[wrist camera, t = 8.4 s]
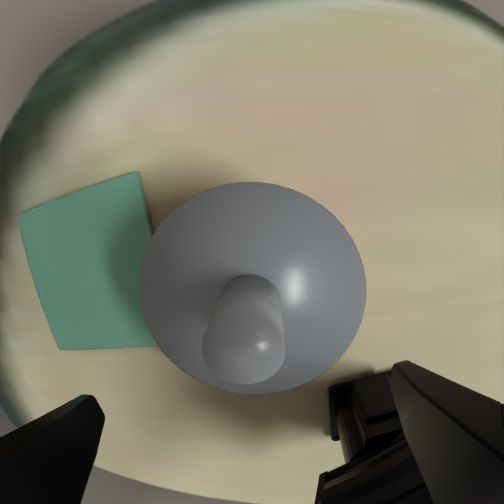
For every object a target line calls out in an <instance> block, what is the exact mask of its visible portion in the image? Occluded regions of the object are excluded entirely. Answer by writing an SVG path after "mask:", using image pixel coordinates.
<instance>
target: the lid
mask: <svg viewBox="0 0 504 504" xmlns="http://www.w3.org/2000/svg"><path fill="white" fill-rule="evenodd" d="M139 296H140V304H141V309H142V312H143V316H144V319H145V322H146V324H147V327H148V329H149V331H150V333H151V335H152V337H153V338H154V340H155V342H156V343H157V345H158V346H159V347H160V349H161V350H162V352H163V353H164V354H165V355H166V356H167V357H168V358H169V359H170V360H171V361H172V362H173V363H174V364H175V365H176V366H177V367H178V368H180V369H181V370H182V371H183V372H185V373H186V374H188V375H189V376H191V377H192V378H194V379H196V380H198V381H200V382H202V383H204V384H206V385H208V386H211V387H214V388H216V389H219V390H223V391H227V392H231V393H238V394H247V395H262V394H272V393H278V392H283V391H286V390H290V389H293V388H296V387H298V386H301V385H303V384H305V383H307V382H309V381H311V380H313V379H315V378H316V377H318V376H320V375H321V374H322V373H324V372H325V371H326V370H328V369H329V368H330V367H331V366H332V365H333V364H334V363H335V362H336V361H337V360H338V359H339V358H340V357H341V356H342V355H343V354H344V352H345V351H346V350H347V348H348V347H349V345H350V344H351V342H352V340H353V339H354V337H355V335H356V333H357V331H358V328H359V326H360V324H361V320H362V317H363V313H364V309H365V301H366V279H365V272H364V267H363V264H362V260H361V257H360V254H359V252H358V250H357V247H356V245H355V243H354V241H353V239H352V238H351V236H350V235H349V233H348V232H347V230H346V229H345V227H344V226H343V225H342V224H341V223H340V222H339V221H338V219H337V218H336V217H335V216H334V215H333V214H332V213H331V212H329V211H328V210H327V209H326V208H325V207H323V206H322V205H321V204H319V203H318V202H316V201H314V200H313V199H311V198H310V197H308V196H306V195H304V194H302V193H299V192H297V191H295V190H292V189H290V188H286V187H283V186H279V185H275V184H269V183H261V182H240V183H233V184H226V185H222V186H218V187H215V188H211V189H208V190H206V191H204V192H202V193H199V194H197V195H195V196H193V197H192V198H190V199H188V200H187V201H185V202H184V203H182V204H181V205H179V206H178V207H177V208H176V209H175V210H174V211H172V212H171V213H170V214H169V215H168V216H167V217H166V218H165V220H164V221H163V222H162V223H161V224H160V225H159V227H158V228H157V230H156V231H155V233H154V234H153V236H152V238H151V240H150V242H149V244H148V246H147V248H146V250H145V253H144V257H143V260H142V263H141V269H140V276H139Z"/></svg>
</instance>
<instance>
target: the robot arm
mask: <svg viewBox="0 0 504 504" xmlns="http://www.w3.org/2000/svg"><path fill="white" fill-rule="evenodd" d="M333 391H336V392H333ZM328 401H329V414H330V429H331V439H332V440H333V441H339V440H340V441H341V446H342V450H343V454H344V459H345V463H346V464H344V465H342V466H340V467H338V468H336V469H333V470H331V471H329V472H327V471H326V472H324V473H322V474H320V475H319V482H318V487H317V493H316V499H315V504H504V404H503V403H502V404H501V402H499V401H496V400H494V399H492V398H489V397H487V396H485V395H482V394H480V393H478V392H476V391H473V390H471V389H469V388H467V387H464V386H462V385H460V384H458V383H456V382H453V381H451V380H449V379H447V378H444V377H442V376H440V375H438V374H436V373H434V372H431V371H429V370H427V369H425V368H423V367H421V366H418V365H416V364H414V363H412V362H410V361H407V360H405V361H401V362H398V363H395V364H394V365H393V367H392V372H388V373H384V374H380V375H377V376H373V377H368V378H364V379H360V380H356V381H351V382H347V383H342V384H337V385H333V386H331V387H329V389H328ZM104 422H105V415H104V413H103V411H102V409H101V407H100V406H99V404H98V402H97V400H96V398H95V397H94V396H92V395H85V394H84V395H80V396H78V397H77V398H75V399H73V400H71V401H69V402H67V403H65V404H64V405H62V406H60V407H58V408H56V409H54V410H52V411H51V412H49V413H47V414H45V415H43V416H41V417H39V418H37V419H35V420H33V421H31V422H29V423H28V424H26V425H24V426H22V427H20V428H18V429H16V430H14V431H12V432H10V433H8V434H6V435H4V436H2V437H0V504H81V501H82V498H83V495H84V491H85V488H86V485H87V482H88V479H89V476H90V473H91V470H92V467H93V464H94V461H95V458H96V455H97V451H98V446H99V442H100V438H101V434H102V430H103V426H104Z"/></svg>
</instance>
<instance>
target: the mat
mask: <svg viewBox="0 0 504 504" xmlns="http://www.w3.org/2000/svg"><path fill="white" fill-rule="evenodd" d="M17 217H18V222H19V227H20V231H21V236H22V240H23V244H24V248H25V252H26V256H27V260H28V263H29V267H30V270H31V274H32V277H33V281H34V284H35V287H36V290H37V293H38V296H39V299H40V302H41V305H42V307H43V310H44V313H45V316H46V318H47V321H48V324H49V326H50V329H51V331H52V334H53V336H54V338H55V341H56V343H57V345H58V348H59V350H94V349H117V348H134V347H149V346H158V345H157V343H156V342H155V340H154V338H153V337H152V335H151V333H150V331H149V329H148V327H147V324H146V322H145V319H144V316H143V312H142V309H141V304H140V296H139V276H140V269H141V263H142V260H143V257H144V253H145V250H146V248H147V246H148V244H149V242H150V240H151V238H152V236H153V232H152V228H151V224H150V220H149V215H148V211H147V206H146V201H145V197H144V192H143V187H142V182H141V177H140V172H134V173H131V174H128V175H125V176H121V177H118V178H115V179H112V180H109V181H106V182H103V183H100V184H97V185H94V186H91V187H89V188H86V189H83V190H80V191H77V192H75V193H72V194H69V195H67V196H64V197H61V198H59V199H56V200H54V201H51V202H48V203H46V204H43V205H41V206H39V207H36V208H34V209H31V210H29V211H27V212H24V213H22V214H20V215H17Z"/></svg>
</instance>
